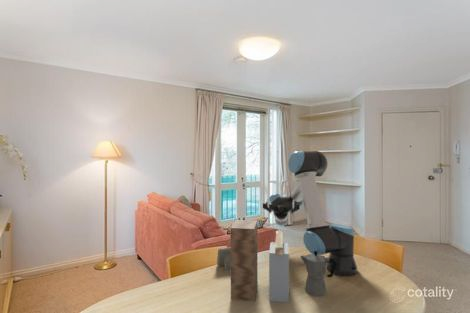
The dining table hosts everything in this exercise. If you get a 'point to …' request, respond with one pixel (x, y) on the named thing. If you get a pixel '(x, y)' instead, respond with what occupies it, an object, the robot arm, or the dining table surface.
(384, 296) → the dining table surface
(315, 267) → the coffeepot
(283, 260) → the white rectangular block
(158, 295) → the dining table surface
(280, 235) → the beech bar
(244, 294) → the walnut plinth
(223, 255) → the digital clock
